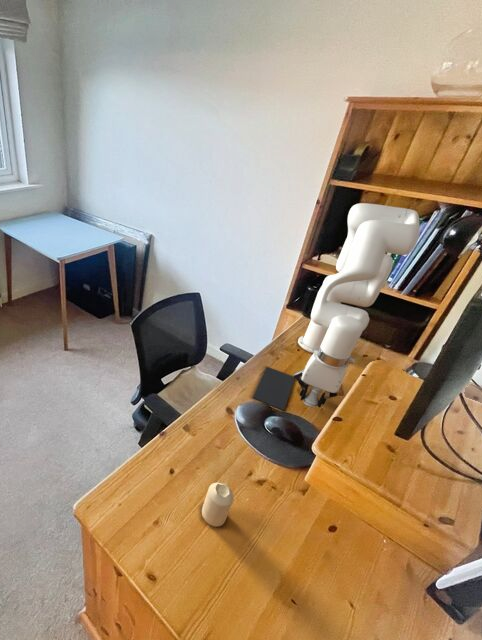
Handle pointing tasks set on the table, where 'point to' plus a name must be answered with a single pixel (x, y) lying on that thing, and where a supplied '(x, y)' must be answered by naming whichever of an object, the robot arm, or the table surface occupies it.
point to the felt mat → (274, 388)
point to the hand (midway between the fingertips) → (310, 400)
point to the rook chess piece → (312, 397)
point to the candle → (217, 504)
